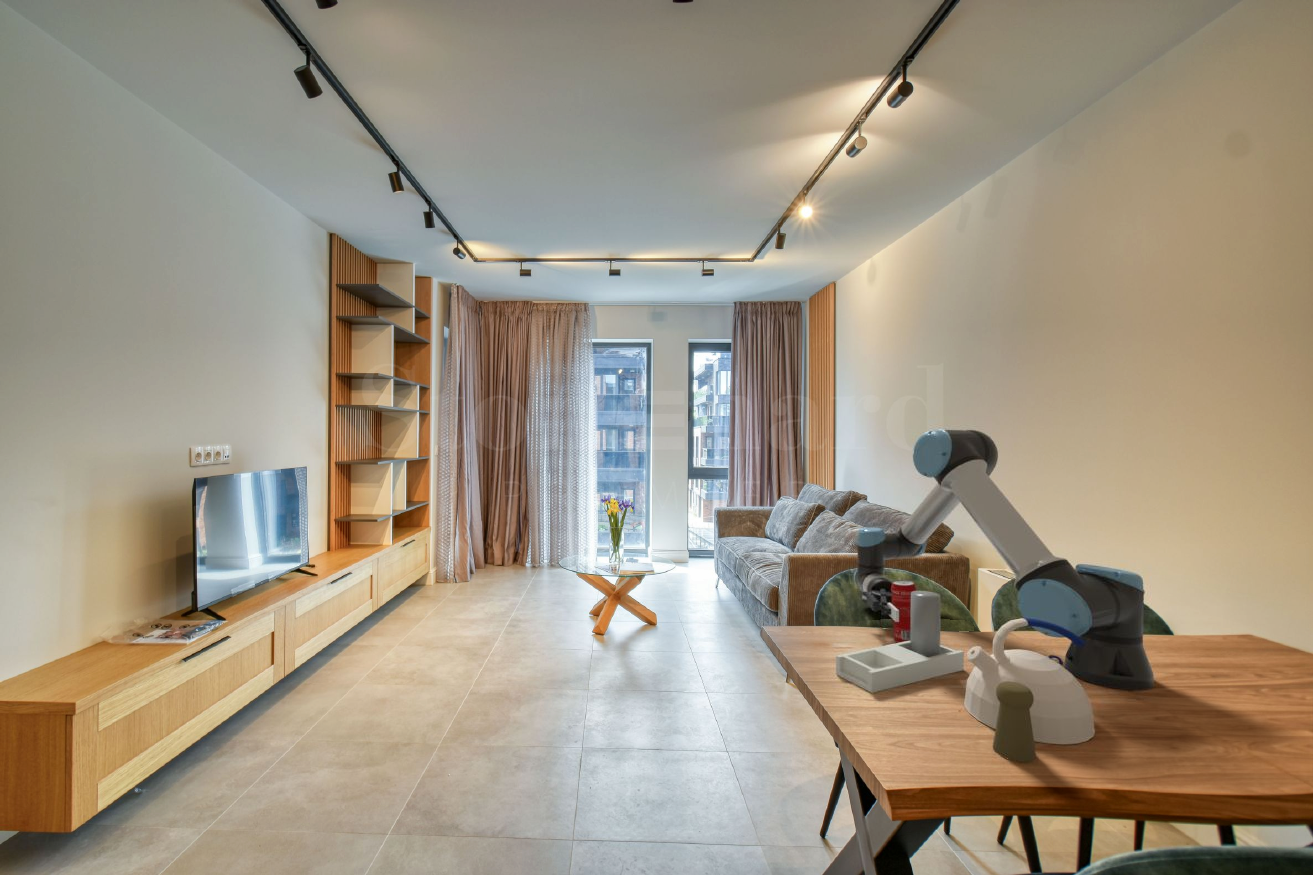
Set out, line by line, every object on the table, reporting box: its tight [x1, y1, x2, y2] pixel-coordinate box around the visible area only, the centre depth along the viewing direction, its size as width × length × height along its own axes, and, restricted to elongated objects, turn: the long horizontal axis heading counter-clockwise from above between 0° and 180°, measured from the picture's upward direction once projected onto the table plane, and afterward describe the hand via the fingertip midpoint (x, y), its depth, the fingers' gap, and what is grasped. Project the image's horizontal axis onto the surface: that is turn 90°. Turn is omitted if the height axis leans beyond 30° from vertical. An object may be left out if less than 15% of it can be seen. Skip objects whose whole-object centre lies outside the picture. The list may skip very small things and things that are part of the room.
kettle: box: [963, 617, 1096, 746], centre depth 108 cm, size 20×21×18 cm
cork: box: [992, 681, 1037, 764], centre depth 95 cm, size 6×6×11 cm
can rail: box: [835, 590, 965, 694], centre depth 127 cm, size 27×10×16 cm, turn 115°
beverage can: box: [891, 579, 917, 643], centre depth 145 cm, size 6×6×15 cm
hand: (909, 616), depth 140 cm, fingers closed on beverage can, 5 cm apart
